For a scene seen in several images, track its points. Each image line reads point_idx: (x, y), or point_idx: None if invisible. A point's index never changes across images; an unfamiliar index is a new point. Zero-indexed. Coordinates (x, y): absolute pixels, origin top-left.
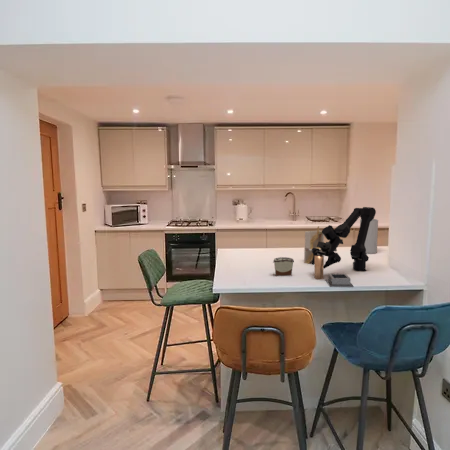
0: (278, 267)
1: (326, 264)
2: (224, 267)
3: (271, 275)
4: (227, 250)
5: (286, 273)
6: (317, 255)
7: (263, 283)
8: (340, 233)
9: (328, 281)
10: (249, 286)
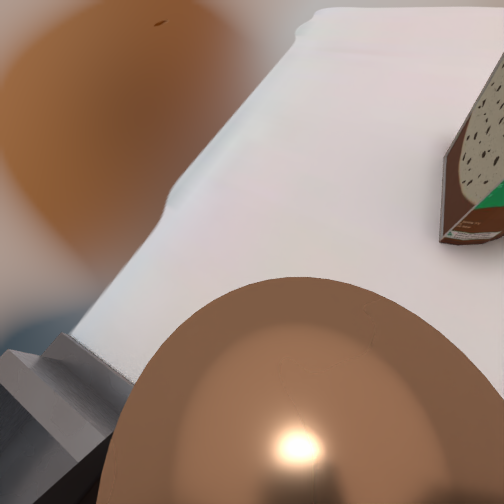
0: (482, 109)
1: (80, 474)
2: None
3: None
4: None
5: (451, 198)
6: (430, 466)
7: (317, 90)
8: None
9: None
10: (299, 56)
